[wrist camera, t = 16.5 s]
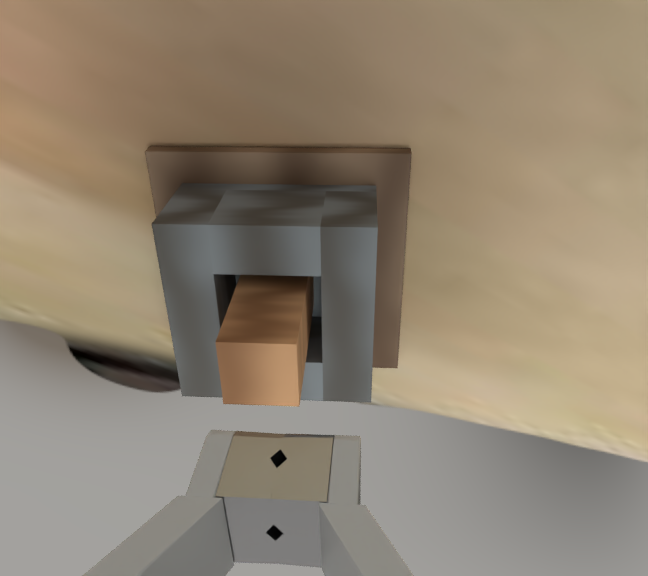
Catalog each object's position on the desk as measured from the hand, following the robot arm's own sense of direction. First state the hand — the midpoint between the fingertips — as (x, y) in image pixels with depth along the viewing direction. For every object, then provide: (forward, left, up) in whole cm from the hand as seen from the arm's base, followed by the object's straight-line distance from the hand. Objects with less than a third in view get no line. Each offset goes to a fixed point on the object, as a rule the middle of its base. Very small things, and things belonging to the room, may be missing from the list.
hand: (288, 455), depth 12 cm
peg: (+4, +10, -25) cm, 27 cm away
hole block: (+4, +10, -27) cm, 29 cm away
